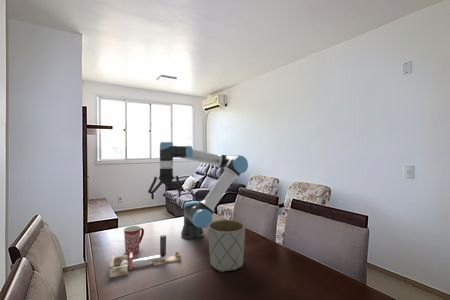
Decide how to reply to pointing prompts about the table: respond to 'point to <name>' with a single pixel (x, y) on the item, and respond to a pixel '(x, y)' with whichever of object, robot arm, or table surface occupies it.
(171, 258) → the strip
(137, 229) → the mug
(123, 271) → the beige block
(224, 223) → the planter
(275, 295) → the table surface
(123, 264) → the ball
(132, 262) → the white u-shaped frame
